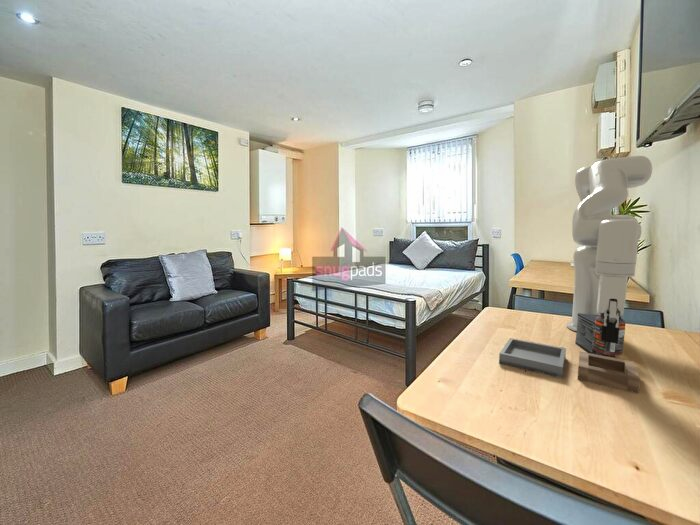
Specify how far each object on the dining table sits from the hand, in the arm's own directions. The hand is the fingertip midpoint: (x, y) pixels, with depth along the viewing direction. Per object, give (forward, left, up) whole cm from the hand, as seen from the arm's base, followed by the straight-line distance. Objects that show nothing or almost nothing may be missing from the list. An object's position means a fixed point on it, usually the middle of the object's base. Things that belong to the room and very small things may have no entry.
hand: (608, 336), depth 79 cm
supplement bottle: (0, 0, -4) cm, 4 cm away
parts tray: (+1, -16, -11) cm, 20 cm away
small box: (-19, -2, -11) cm, 22 cm away
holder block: (+1, 0, -11) cm, 11 cm away
